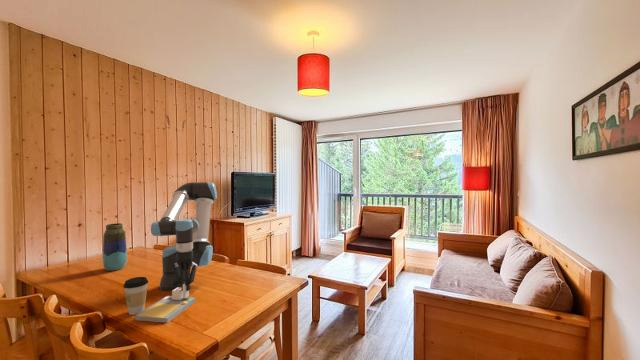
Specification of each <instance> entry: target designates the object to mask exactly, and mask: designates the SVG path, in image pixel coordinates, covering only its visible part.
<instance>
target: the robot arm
mask: <svg viewBox="0 0 640 360" xmlns="http://www.w3.org/2000/svg"><path fill="white" fill-rule="evenodd" d="M171 196H172V197H171V198H172V199H171V200H170V203H169V204H168V206H167V208H166V209H165V211H164V213H163V215H162V217H161V218H160V220H159V221H158V220H157V221H153V222H152V223H151V225H150V233H151V235H152V236H153V237H164V236H165V237H166V236H168V237H169V236H175V242H176V243H175V244H174V245H170V246H168V247H165V248H164V249H163V250H162V255H161V258H162V259H161V261H162V275H161V278H160V281H159V290H160V291H165V292H166V291H167V292H169V291H171V292H172V290H174V289H176V288H177V287H179V288H181V290H182V291H183V298H186V297H189V296H190V290H191V284H193V283H194V281H195V277H196V273H197V268H198V267H206V266H209V264H210V263H211V261H212V258H213V254H214V251H213V250H214V248H213V245H211V242H210V241H209V232H210V221H211V220H210V219H211V210H212V208H211V207H212V205H213V204H214V202H215V200H217V199H218V192H217V187H216V184H215V183H214V182H211V181H210V182H209V181H205V182H204V181H203V182H202V181H201V182H188V183H187V182H186V183H184V184H182V185H180V186H179V187H178V188H177V189H175V190H174V192H173V193H172V195H171ZM189 201H194V203H195V204H196V208H195V217H194V219H193V218H181V219H179V216H180V214H181V212H182V211H183V209H184V207H185V205H186V204H187V203H188V202H189Z"/></svg>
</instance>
